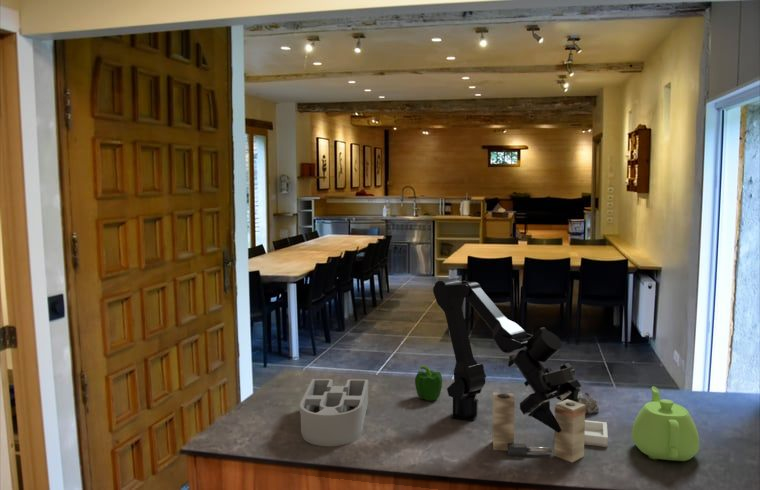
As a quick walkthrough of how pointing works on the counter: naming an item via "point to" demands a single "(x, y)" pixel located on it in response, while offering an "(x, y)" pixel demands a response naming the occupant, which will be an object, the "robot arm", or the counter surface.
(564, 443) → the block
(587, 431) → the tray
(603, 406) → the counter surface
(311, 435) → the grey compartment organizer
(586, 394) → the mineral specimen
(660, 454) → the teapot
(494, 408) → the block
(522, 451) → the pin gauge
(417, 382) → the bell pepper
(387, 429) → the counter surface
